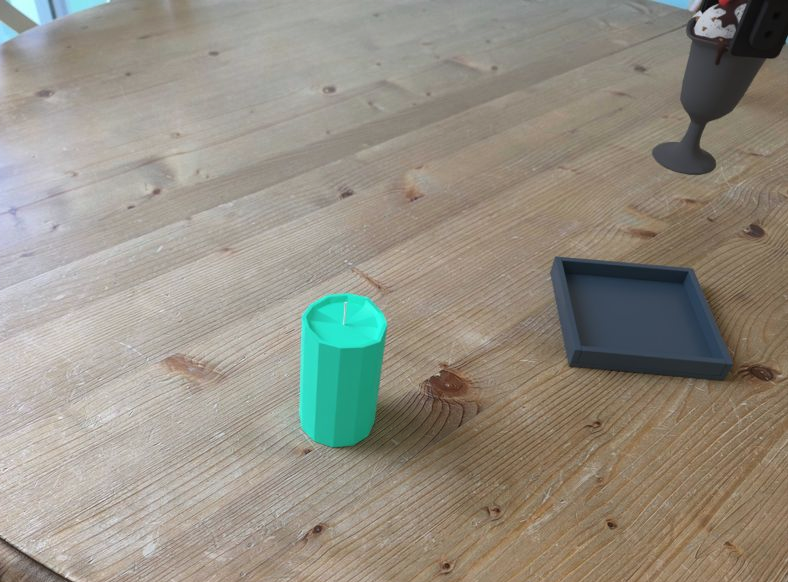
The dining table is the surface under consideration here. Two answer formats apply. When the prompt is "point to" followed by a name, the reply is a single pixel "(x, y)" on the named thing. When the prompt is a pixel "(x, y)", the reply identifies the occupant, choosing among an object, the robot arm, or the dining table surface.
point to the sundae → (709, 85)
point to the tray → (637, 319)
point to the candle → (340, 368)
